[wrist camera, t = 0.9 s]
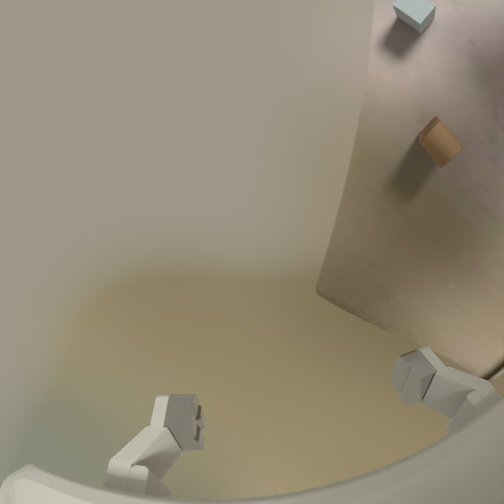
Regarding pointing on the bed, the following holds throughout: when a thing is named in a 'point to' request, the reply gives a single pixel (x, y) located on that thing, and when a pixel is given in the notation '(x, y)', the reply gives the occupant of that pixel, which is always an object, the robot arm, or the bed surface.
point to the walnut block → (439, 141)
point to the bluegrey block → (415, 13)
